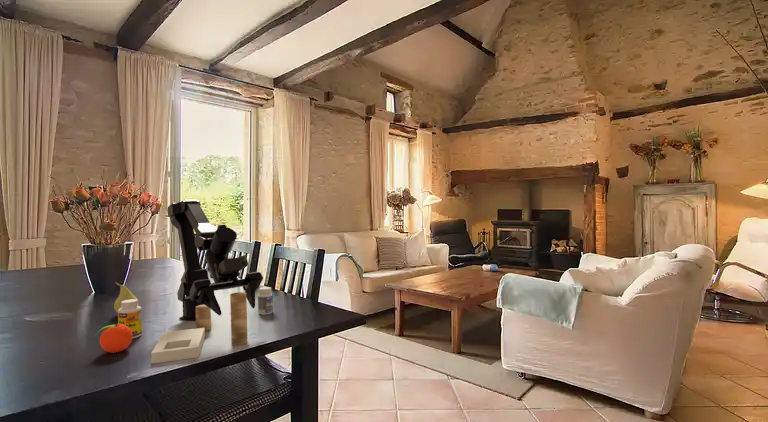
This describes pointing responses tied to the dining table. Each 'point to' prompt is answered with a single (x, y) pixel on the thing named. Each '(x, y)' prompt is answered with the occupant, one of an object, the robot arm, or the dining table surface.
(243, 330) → the long dowel
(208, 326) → the short dowel
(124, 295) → the fruit
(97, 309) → the dining table surface
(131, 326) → the supplement bottle
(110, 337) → the clementine
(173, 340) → the hole plate
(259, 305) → the pill bottle
